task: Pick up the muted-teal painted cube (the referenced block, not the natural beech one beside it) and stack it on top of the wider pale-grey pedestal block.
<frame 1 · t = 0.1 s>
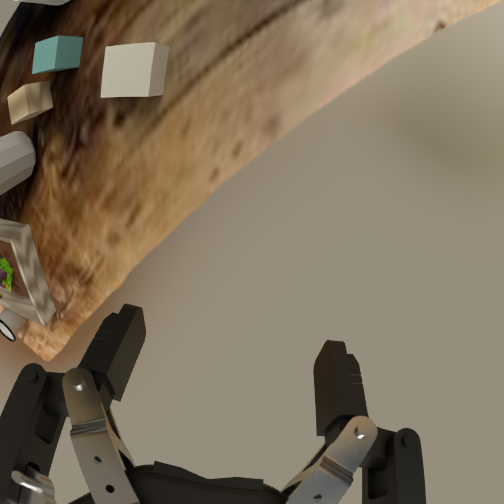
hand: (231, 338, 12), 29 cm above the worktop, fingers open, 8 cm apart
teal cube: (69, 54, 27), on the worktop
pedestal block: (143, 70, 30), on the worktop
mug 2: (18, 312, 63), on the worktop
plant: (13, 260, 52), resting in planter box
jar: (23, 153, 36), on the worktop
planter box: (12, 261, 51), on the worktop
beech block: (41, 98, 31), on the worktop
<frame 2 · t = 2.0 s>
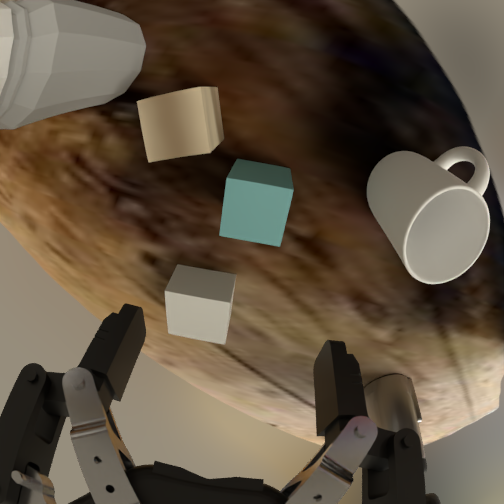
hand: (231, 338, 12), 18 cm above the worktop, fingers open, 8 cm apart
teal cube: (259, 187, 27), on the worktop
pedestal block: (205, 291, 35), on the worktop
jar: (108, 58, 20), on the worktop
mug: (412, 175, 24), on the worktop
beech block: (194, 116, 23), on the worktop
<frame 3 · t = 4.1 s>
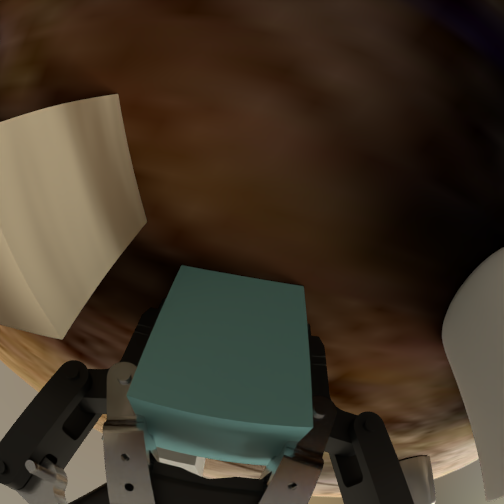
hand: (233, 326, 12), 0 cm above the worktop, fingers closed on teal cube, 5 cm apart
teal cube: (235, 318, 13), on the worktop, touching gripper
pedestal block: (168, 415, 20), on the worktop
beech block: (80, 171, 9), on the worktop
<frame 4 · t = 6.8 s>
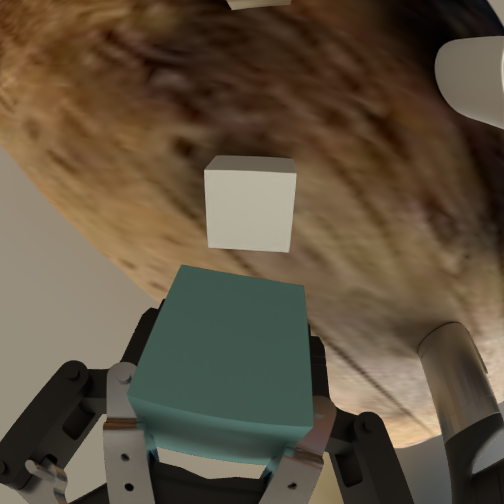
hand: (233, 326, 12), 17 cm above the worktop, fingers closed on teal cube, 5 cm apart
teal cube: (235, 318, 13), point 16 cm above the worktop, touching gripper
pedestal block: (253, 191, 27), on the worktop
mug: (470, 68, 17), on the worktop
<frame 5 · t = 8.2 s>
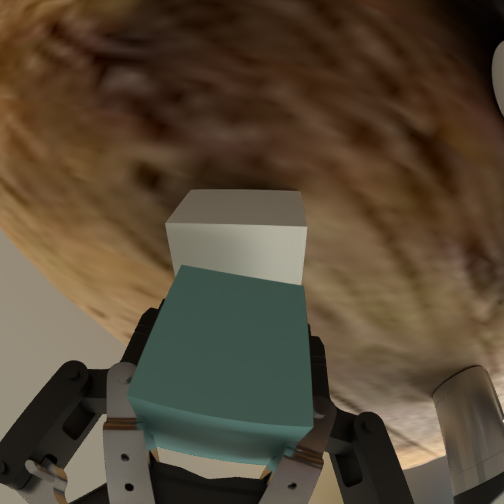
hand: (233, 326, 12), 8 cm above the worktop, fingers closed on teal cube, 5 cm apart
teal cube: (235, 318, 13), point 8 cm above the worktop, touching gripper
pedestal block: (245, 236, 20), on the worktop
when the fingers open (6 cm above the worktop, at t = 9.5 s): teal cube drops 1 cm, point 5 cm above the worktop.
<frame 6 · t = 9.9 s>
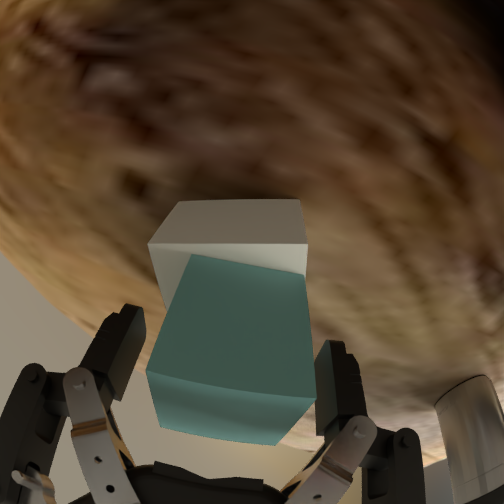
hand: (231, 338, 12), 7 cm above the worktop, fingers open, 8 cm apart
teal cube: (239, 305, 14), point 5 cm above the worktop
pedestal block: (241, 250, 18), on the worktop
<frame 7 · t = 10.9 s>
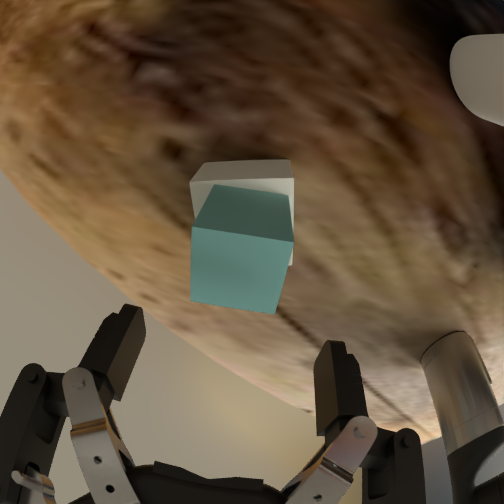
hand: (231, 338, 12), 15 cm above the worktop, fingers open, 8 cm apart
teal cube: (246, 222, 20), point 5 cm above the worktop
pedestal block: (249, 198, 24), on the worktop
mug: (485, 67, 14), on the worktop
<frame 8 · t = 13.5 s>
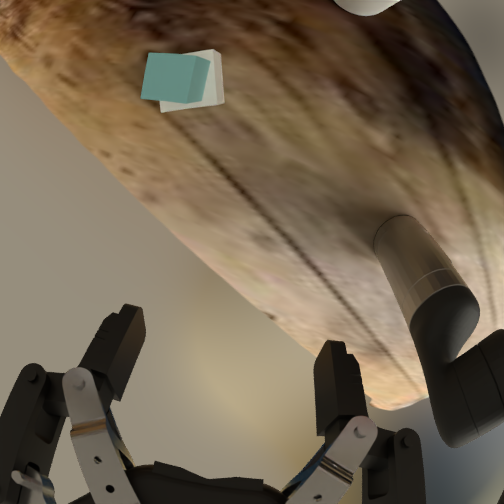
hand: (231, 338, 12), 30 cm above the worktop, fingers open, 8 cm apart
teal cube: (185, 78, 27), point 5 cm above the worktop
pedestal block: (196, 81, 32), on the worktop
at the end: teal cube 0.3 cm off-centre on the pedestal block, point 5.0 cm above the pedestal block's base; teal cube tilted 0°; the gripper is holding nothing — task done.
